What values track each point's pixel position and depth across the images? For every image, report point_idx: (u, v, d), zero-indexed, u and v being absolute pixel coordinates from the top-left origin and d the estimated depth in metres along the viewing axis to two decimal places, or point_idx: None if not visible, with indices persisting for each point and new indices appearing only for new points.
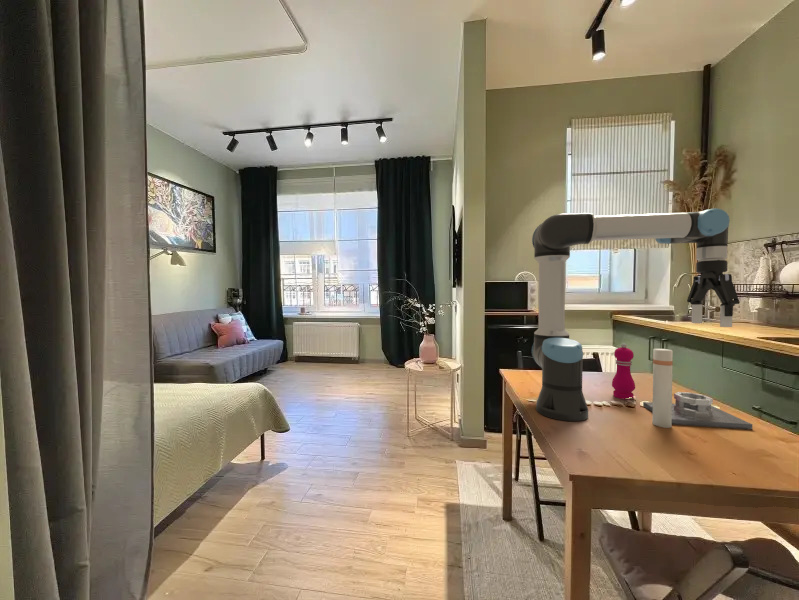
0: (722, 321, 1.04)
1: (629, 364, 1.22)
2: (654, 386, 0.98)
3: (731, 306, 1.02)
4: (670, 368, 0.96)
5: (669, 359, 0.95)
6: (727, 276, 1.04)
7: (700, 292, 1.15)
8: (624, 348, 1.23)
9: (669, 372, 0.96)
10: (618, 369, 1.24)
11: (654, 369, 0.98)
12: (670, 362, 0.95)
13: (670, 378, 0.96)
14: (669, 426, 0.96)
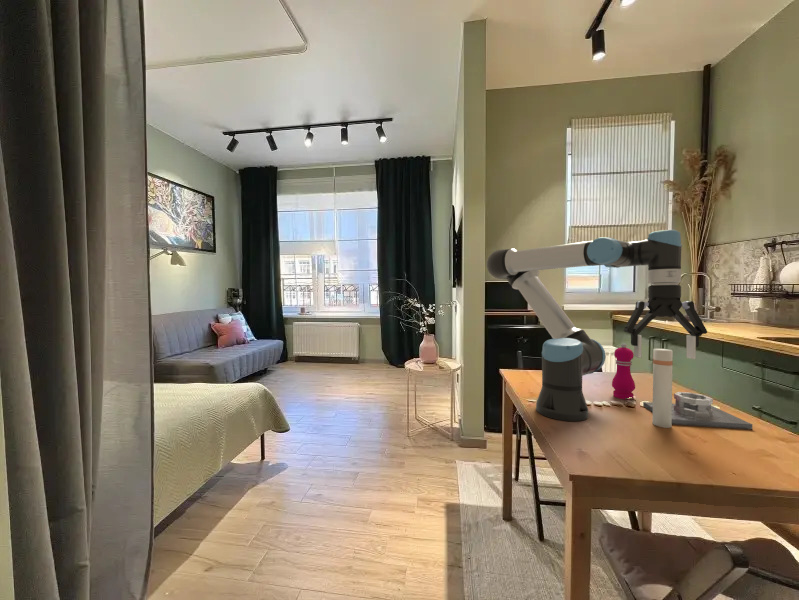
0: (634, 350, 1.00)
1: (629, 364, 1.22)
2: (654, 386, 0.98)
3: (632, 335, 0.99)
4: (670, 368, 0.96)
5: (669, 359, 0.95)
6: (637, 304, 0.99)
7: (678, 320, 0.97)
8: (624, 348, 1.23)
9: (669, 372, 0.96)
10: (618, 369, 1.24)
11: (654, 369, 0.98)
12: (670, 362, 0.95)
13: (670, 378, 0.96)
14: (669, 426, 0.96)
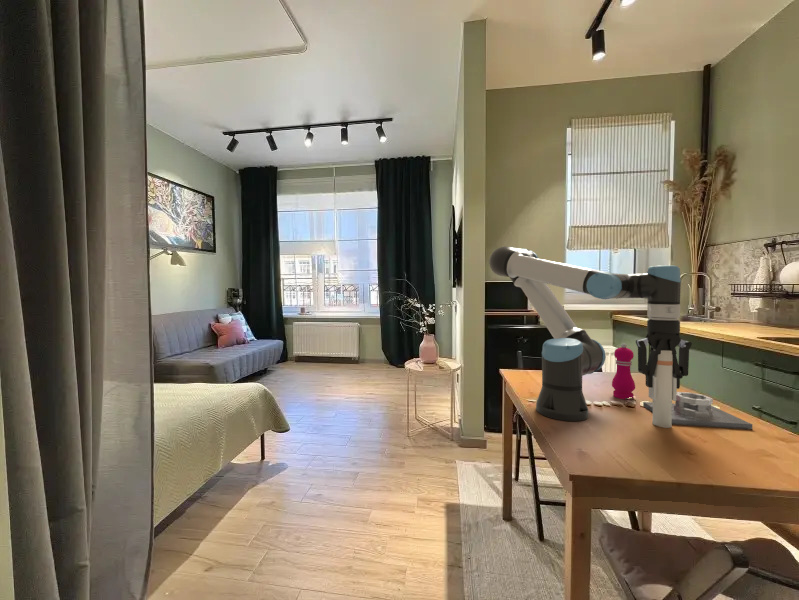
0: (649, 391, 1.00)
1: (629, 364, 1.22)
2: None
3: (647, 376, 0.98)
4: (670, 368, 0.96)
5: (669, 359, 0.95)
6: (638, 343, 0.99)
7: None
8: (624, 348, 1.23)
9: (669, 372, 0.96)
10: (618, 369, 1.24)
11: None
12: (670, 362, 0.95)
13: (670, 378, 0.96)
14: (669, 426, 0.96)
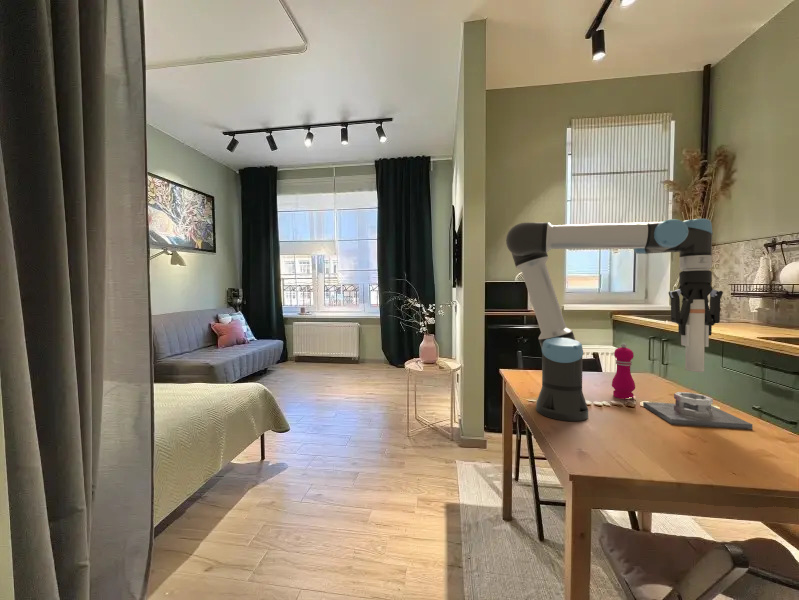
0: (681, 339, 1.05)
1: (629, 364, 1.22)
2: None
3: (680, 325, 1.04)
4: (703, 316, 1.01)
5: (702, 307, 1.01)
6: (671, 294, 1.05)
7: None
8: (624, 348, 1.23)
9: (702, 319, 1.01)
10: (618, 369, 1.24)
11: None
12: (703, 310, 1.01)
13: (703, 325, 1.02)
14: (702, 370, 1.02)
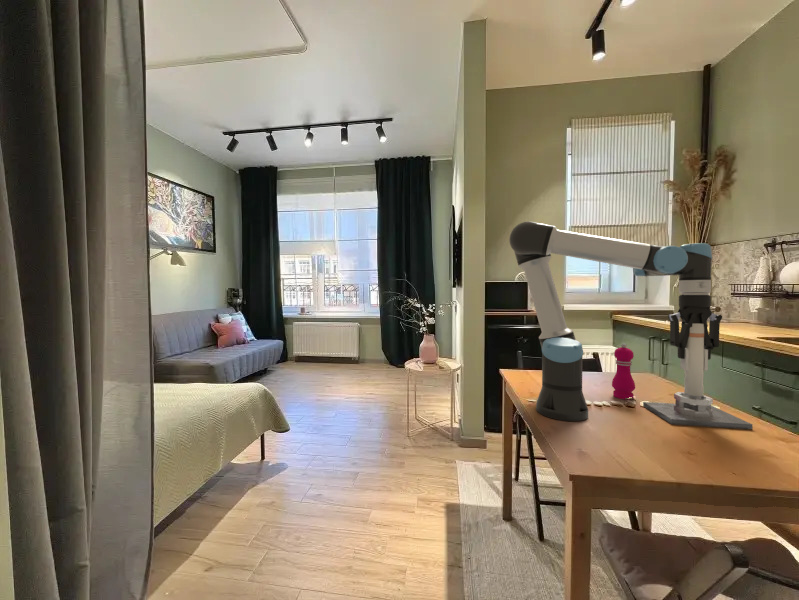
0: (681, 363, 1.06)
1: (629, 364, 1.22)
2: None
3: (679, 348, 1.04)
4: (702, 340, 1.02)
5: (701, 331, 1.02)
6: (670, 317, 1.05)
7: None
8: (624, 348, 1.23)
9: (701, 343, 1.02)
10: (618, 369, 1.24)
11: None
12: (702, 334, 1.02)
13: (702, 349, 1.02)
14: (701, 394, 1.02)
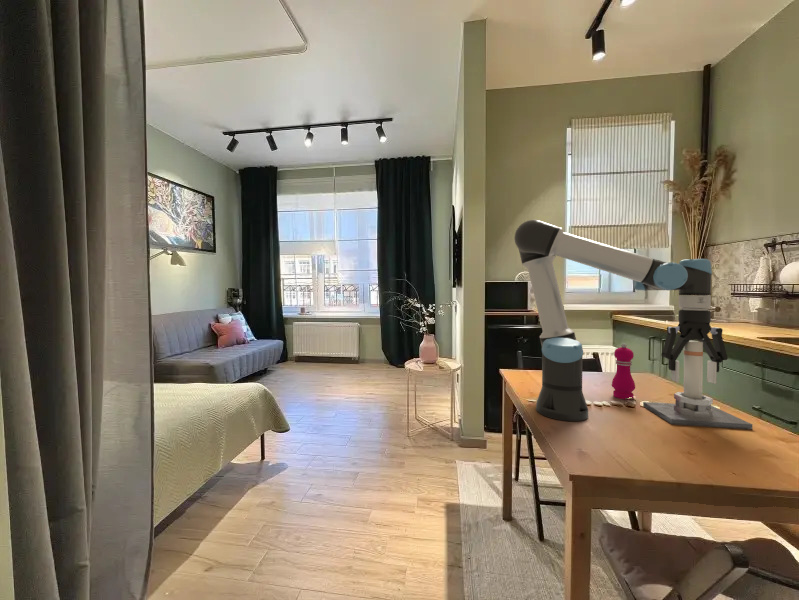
0: (671, 374, 1.06)
1: (629, 364, 1.22)
2: (685, 376, 1.04)
3: (670, 360, 1.05)
4: (701, 358, 1.02)
5: (700, 350, 1.02)
6: (669, 329, 1.05)
7: (703, 344, 1.04)
8: (624, 348, 1.23)
9: (700, 362, 1.02)
10: (618, 369, 1.24)
11: (685, 360, 1.04)
12: (701, 353, 1.02)
13: (701, 368, 1.02)
14: None
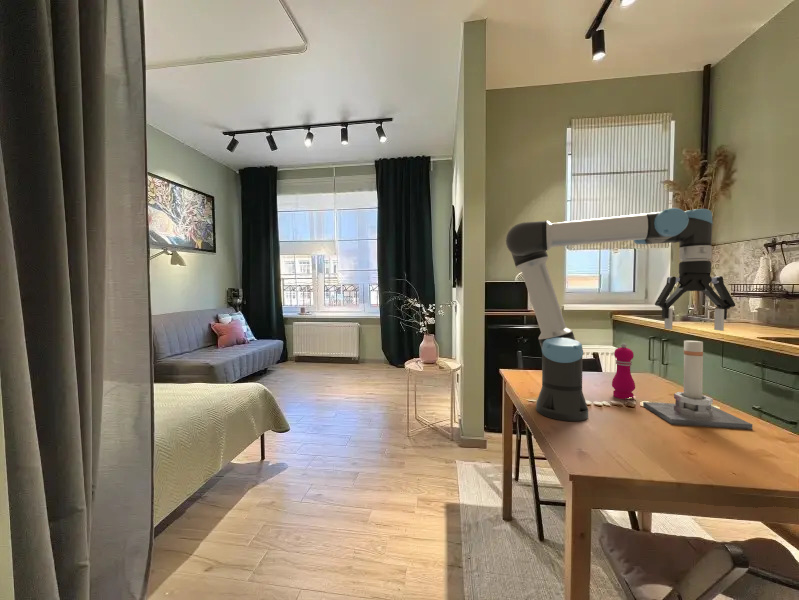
0: (665, 323, 1.06)
1: (629, 364, 1.22)
2: (685, 376, 1.04)
3: (663, 308, 1.05)
4: (701, 358, 1.02)
5: (700, 350, 1.02)
6: (669, 279, 1.05)
7: (707, 295, 1.04)
8: (624, 348, 1.23)
9: (700, 362, 1.02)
10: (618, 369, 1.24)
11: (685, 360, 1.04)
12: (701, 353, 1.02)
13: (701, 368, 1.02)
14: None
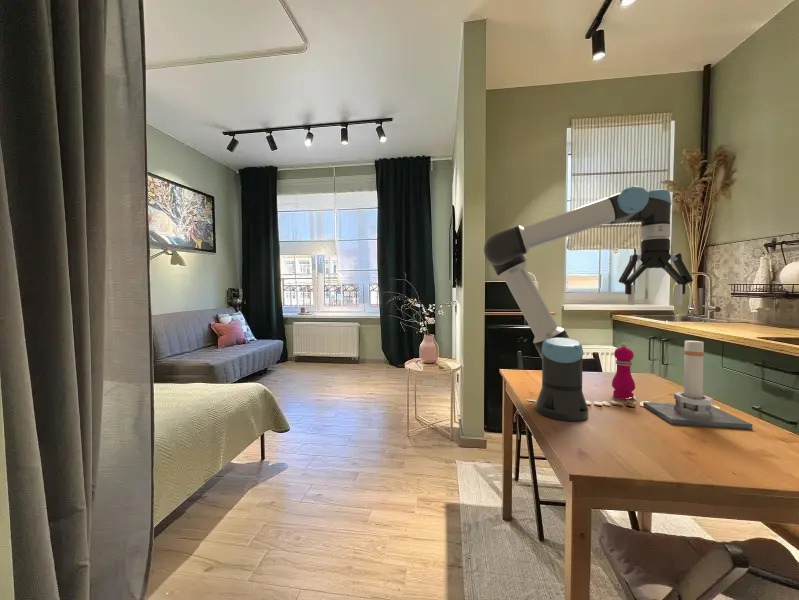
0: (628, 299, 1.12)
1: (629, 364, 1.22)
2: (686, 376, 1.04)
3: (626, 285, 1.11)
4: (701, 358, 1.02)
5: (700, 350, 1.02)
6: (631, 257, 1.10)
7: (667, 271, 1.09)
8: (624, 348, 1.23)
9: (700, 362, 1.02)
10: (618, 369, 1.24)
11: (686, 360, 1.04)
12: (701, 353, 1.02)
13: (701, 368, 1.02)
14: None
